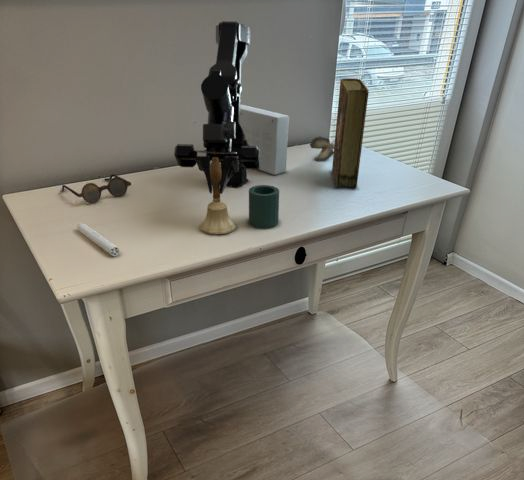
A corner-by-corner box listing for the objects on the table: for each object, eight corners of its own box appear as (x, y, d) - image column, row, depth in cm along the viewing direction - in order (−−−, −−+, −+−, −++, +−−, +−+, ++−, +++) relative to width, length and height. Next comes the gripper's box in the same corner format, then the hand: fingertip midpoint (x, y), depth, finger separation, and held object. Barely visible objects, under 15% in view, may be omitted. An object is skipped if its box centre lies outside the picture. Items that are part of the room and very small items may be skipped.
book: (331, 170, 151) (340, 78, 136) (349, 170, 151) (360, 78, 136) (336, 189, 138) (346, 89, 123) (356, 189, 138) (369, 90, 123)
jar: (243, 224, 119) (243, 192, 114) (258, 215, 123) (258, 183, 118) (269, 231, 116) (269, 197, 111) (283, 220, 121) (284, 188, 116)
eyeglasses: (81, 206, 127) (76, 187, 124) (58, 190, 136) (54, 172, 133) (132, 194, 134) (130, 175, 131) (108, 179, 143) (105, 161, 140)
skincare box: (287, 172, 150) (290, 115, 140) (274, 175, 147) (276, 118, 137) (241, 156, 162) (240, 103, 152) (228, 159, 159) (227, 105, 149)
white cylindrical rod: (75, 230, 115) (72, 220, 114) (83, 227, 116) (81, 218, 115) (111, 257, 105) (109, 247, 103) (120, 254, 106) (118, 244, 104)
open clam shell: (316, 147, 166) (304, 149, 159) (330, 130, 162) (317, 130, 155) (331, 164, 165) (319, 166, 158) (345, 147, 161) (334, 148, 154)
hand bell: (194, 224, 117) (189, 155, 108) (223, 216, 121) (221, 149, 111) (212, 237, 112) (208, 166, 102) (242, 229, 116) (241, 159, 106)
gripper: (171, 104, 104) (165, 174, 103) (259, 106, 104) (255, 177, 102) (182, 133, 116) (177, 197, 114) (261, 135, 115) (257, 200, 113)
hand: (215, 192), depth 110 cm, fingers closed on hand bell
